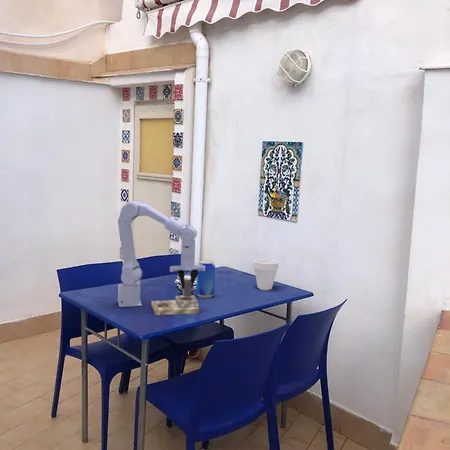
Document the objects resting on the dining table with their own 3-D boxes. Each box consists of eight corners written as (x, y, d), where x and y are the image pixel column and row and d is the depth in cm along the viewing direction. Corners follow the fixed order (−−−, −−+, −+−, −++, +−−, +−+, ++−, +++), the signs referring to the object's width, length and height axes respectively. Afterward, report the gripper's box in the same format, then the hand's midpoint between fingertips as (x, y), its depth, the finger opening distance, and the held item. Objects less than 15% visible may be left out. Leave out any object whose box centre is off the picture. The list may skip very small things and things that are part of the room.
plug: (184, 296, 213) (184, 282, 212) (182, 293, 217) (182, 279, 216) (191, 296, 214) (191, 282, 213) (189, 293, 217) (190, 279, 217)
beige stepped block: (155, 315, 206) (155, 304, 206) (151, 305, 219) (151, 295, 218) (199, 313, 211) (199, 302, 210) (192, 303, 223) (193, 293, 223)
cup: (278, 292, 247) (279, 264, 245) (252, 291, 247) (253, 263, 245) (276, 285, 259) (277, 259, 257) (251, 284, 259) (253, 258, 257)
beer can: (198, 298, 231) (199, 263, 229) (194, 293, 239) (195, 259, 237) (216, 298, 233) (217, 263, 231) (211, 293, 241) (213, 259, 239)
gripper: (172, 258, 207) (171, 291, 209) (207, 257, 211) (206, 290, 213) (169, 254, 214) (168, 286, 216) (203, 254, 218) (202, 285, 220)
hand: (187, 287), depth 215 cm, fingers closed on plug, 3 cm apart
